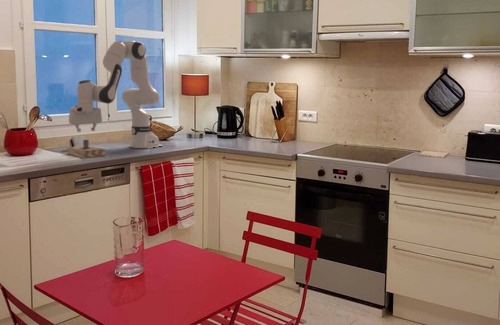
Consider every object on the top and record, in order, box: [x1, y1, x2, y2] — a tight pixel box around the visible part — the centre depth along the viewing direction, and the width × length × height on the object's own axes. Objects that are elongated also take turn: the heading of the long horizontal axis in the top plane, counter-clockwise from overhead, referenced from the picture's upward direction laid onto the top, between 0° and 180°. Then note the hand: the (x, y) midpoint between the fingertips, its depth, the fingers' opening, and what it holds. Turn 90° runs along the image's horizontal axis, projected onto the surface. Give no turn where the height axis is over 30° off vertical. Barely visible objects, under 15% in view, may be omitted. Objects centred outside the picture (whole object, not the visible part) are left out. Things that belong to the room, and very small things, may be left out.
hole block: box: [66, 145, 106, 159], centre depth 332 cm, size 14×18×4 cm
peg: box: [83, 139, 90, 149], centre depth 332 cm, size 3×3×9 cm
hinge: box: [68, 134, 91, 147], centre depth 354 cm, size 17×5×10 cm, turn 170°
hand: (86, 131), depth 331 cm, fingers open, 8 cm apart
